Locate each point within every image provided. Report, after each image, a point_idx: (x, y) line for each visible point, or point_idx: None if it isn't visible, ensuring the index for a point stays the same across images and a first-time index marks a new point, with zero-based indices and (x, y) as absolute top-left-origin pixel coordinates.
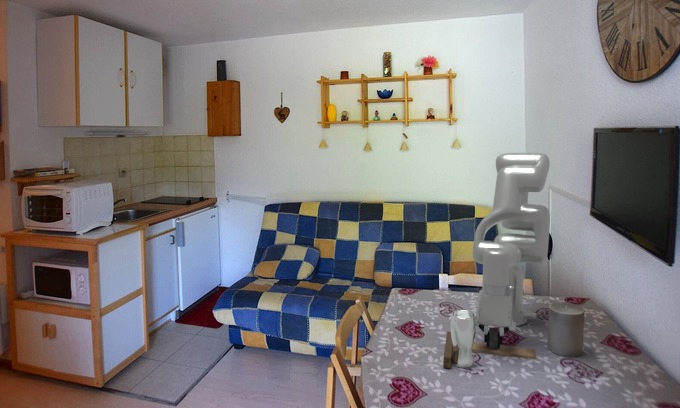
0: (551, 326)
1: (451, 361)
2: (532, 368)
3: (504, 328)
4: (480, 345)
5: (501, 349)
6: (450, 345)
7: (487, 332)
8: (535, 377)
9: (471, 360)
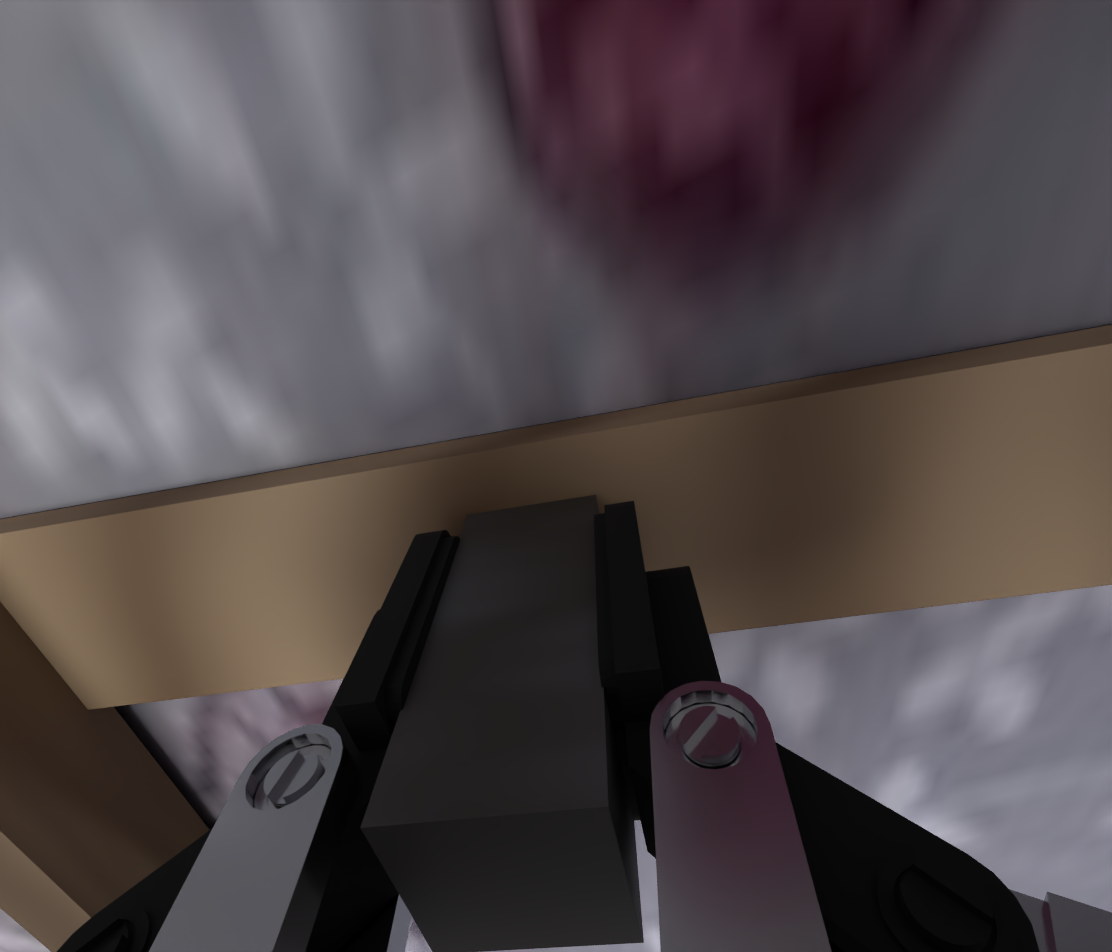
0: None
1: None
2: (1015, 746)
3: (837, 899)
4: (360, 557)
5: (671, 558)
6: None
7: (404, 906)
8: (996, 857)
9: (411, 923)
